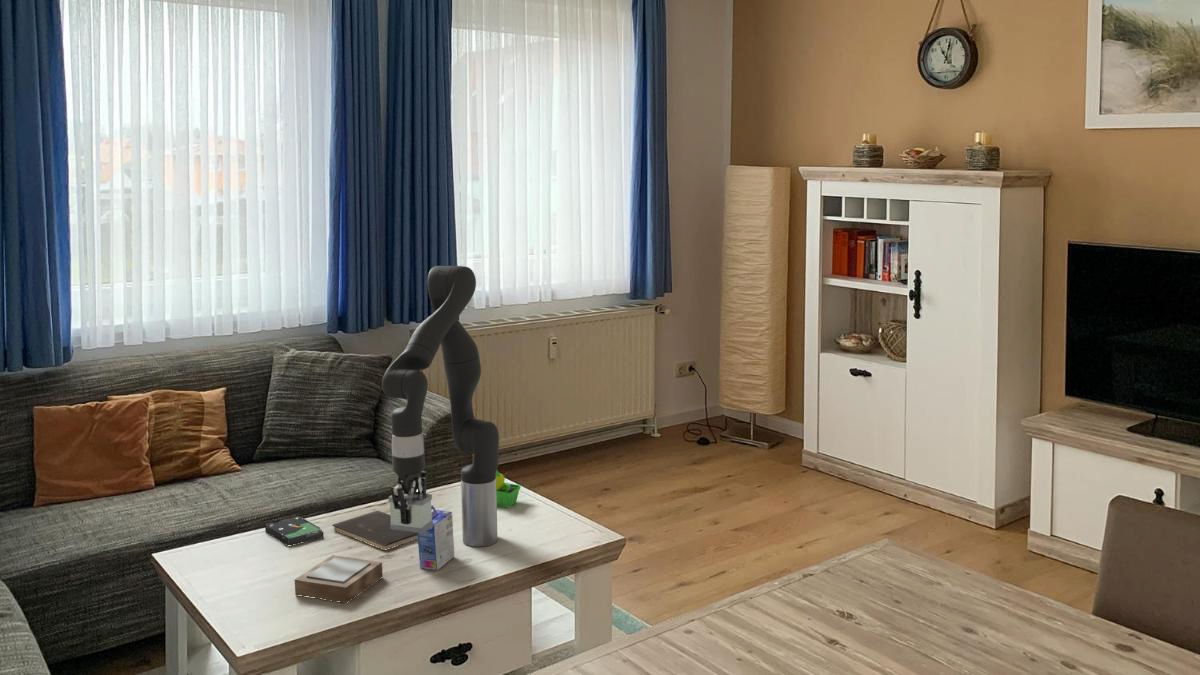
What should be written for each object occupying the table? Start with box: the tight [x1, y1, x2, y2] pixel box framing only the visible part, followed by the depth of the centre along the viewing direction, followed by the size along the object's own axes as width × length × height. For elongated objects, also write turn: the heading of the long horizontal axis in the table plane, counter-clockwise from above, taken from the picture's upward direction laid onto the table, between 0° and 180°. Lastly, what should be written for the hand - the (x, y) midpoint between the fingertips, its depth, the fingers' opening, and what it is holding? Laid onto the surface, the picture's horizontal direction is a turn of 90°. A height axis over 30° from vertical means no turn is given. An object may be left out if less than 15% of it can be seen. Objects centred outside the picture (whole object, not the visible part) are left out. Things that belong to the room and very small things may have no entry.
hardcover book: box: [331, 510, 418, 551], centre depth 296 cm, size 16×23×2 cm
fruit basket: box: [496, 470, 522, 508], centre depth 318 cm, size 11×9×11 cm
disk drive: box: [264, 515, 324, 546], centre depth 295 cm, size 10×3×15 cm
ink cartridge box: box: [417, 504, 455, 571], centre depth 274 cm, size 10×6×14 cm, turn 161°
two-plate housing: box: [388, 493, 433, 533], centre depth 258 cm, size 5×9×8 cm, turn 71°
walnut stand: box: [294, 554, 384, 604], centre depth 260 cm, size 16×14×4 cm
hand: (411, 519), depth 259 cm, fingers closed on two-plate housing, 4 cm apart
